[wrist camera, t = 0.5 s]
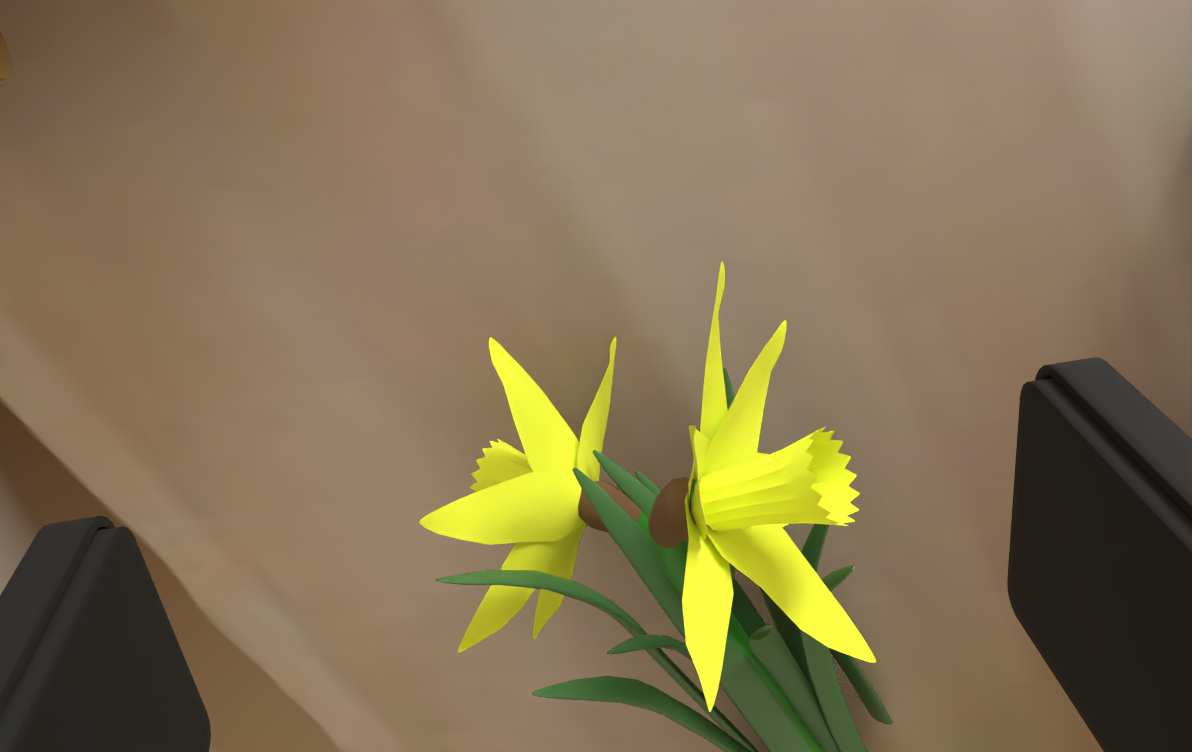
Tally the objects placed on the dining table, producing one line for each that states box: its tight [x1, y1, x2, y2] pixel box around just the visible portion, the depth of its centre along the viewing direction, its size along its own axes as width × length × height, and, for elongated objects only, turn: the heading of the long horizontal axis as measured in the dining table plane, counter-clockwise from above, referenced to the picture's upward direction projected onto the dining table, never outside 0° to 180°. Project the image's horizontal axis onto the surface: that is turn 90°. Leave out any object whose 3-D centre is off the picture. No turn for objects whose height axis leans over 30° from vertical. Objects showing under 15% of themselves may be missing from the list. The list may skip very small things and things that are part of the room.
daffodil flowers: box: [419, 261, 893, 752], centre depth 42 cm, size 17×15×35 cm
